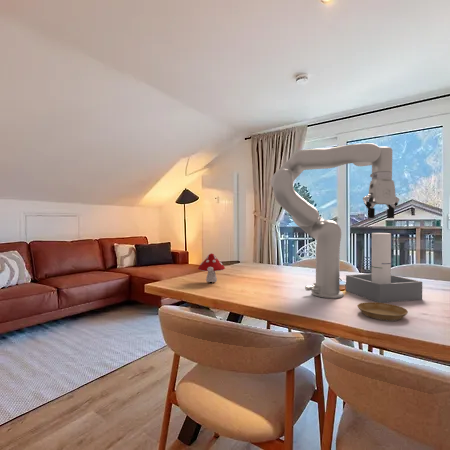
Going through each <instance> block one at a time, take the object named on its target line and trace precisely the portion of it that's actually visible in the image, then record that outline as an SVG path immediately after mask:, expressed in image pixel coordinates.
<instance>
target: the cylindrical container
mask: <svg viewBox="0 0 450 450" xmlns="http://www.w3.org/2000/svg"><path fill="white" fill-rule="evenodd" d="M371 274H372V282H375V283H378V284H387V283H391V275H392V233H388V232H372V233H371Z"/></svg>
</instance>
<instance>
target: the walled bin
mask: <svg viewBox="0 0 450 450" xmlns="http://www.w3.org/2000/svg"><path fill="white" fill-rule="evenodd" d="M345 291H346V292H348V293H351V294H354V295H357V296H359V297H362V298H365V299H368V300H371V301H372V302H378V303H395V302H408V301H418V300H420V301H421V300H423V281H421V280H420V281H419V280H415V279H412V278H407V277H403V276H397V275H394V274H391V283H387V284H378V283H375V282H372V273H361V274H346V275H345Z"/></svg>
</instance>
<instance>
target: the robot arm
mask: <svg viewBox="0 0 450 450" xmlns="http://www.w3.org/2000/svg"><path fill="white" fill-rule="evenodd" d="M347 164H348V165H349V164H353V165H354V166H356V167H368V166H371V173H370V176H369V177H370V178H371V180H370V182H369V186H368V194H367V195H365V196H364V197H362V201H363V202H364V203H363V204H364V205H365V207H366V209H367V219H375V214H376V213H375V211H376V208H374V207H376V205H385V206H387V209H386V211H387V212H386V219H394V218H395V209H396V208H397V206H398V204H399V202H400V198H399V197H397V196H396V185H395V181H394V180H393V148H392V147H390V146H378V145H377V143H376V144H375V143H372V142H364V143H363V142H361V143H352V144H351V143H350V144H346V145H339V146H333V147H325V148H324V147H323V148H322V147H321V148H307V149H304V148H303V149H299V150H296V151H295V152H294V153H292V155H291V156H290V157H289V159H288V160H287V161H285V163H284V164H283V165H282V166H281V167H280V168H279V169H278V170H276V171H275V173H273V174H272V176H271V179H270V186H271V187H272V191H273V196H274V198H275V201H276V202H277V204H278V205H279V206H280V207H281V208H282V209H283V210H285V211H286V212H287V213H288V214H289V215H290V216H291V218H292V221H293V222H294V224H296V226H297V227H299V228H300V229H301V230H303V231H304V232H305V233H306V234H308V236H310V237H311V238H313V239H314V240H316V244H315V282H313V283H312V284H313V285H312V284H311V285H307V286H305V287H304V289H305V291H307V292H308V291H311V294H312V295H313V296H315V297H318V298H323V299H324V298H325V299H339V298H342V297H344V292H343V291H341V290H340V289H341V288H340V286H341V285H340V278H341V277H340V274H341V273H340V272H341V271H340V267H341V266H340V263H341V262H340V259H341V258H340V253H341V252H340V249H341V248H340V247H341V240H342V229H341V227H340V225H339V224H338V222H336V221H334V220H332V219H331V220H330V219H323V218H322V217H321V216H320V213H319V210H318V209H317V208H316V207H315V206H314V205H312V204H311V203H309V202H308V201H307V200H306V199H304V198H303V197H302V196H301V195H300V194H298V192H297V191H296V189H294V182H295V180H297V178H298V177H299V176H300V175H301V174H302V173H303V172H304V171H306V170H307V171H309V170H310V171H311V170H323V169H325V170H327V169H334V168H337V167H340V166H344V165H347Z"/></svg>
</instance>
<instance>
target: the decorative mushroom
mask: <svg viewBox="0 0 450 450" xmlns="http://www.w3.org/2000/svg"><path fill="white" fill-rule="evenodd" d="M225 269H226V267H225V265H224V264H223V263H222V262H221V261H220V260H219V259H218V258H217V257H216V255H215V254H214V253H209V254H208V255H207V256H206V257H205V259H204V260H203V261H201V262H200V264H199V266H198V267H197V270H198V271H202V272H207V275H206V279H205V280H206V283H208V282H215V283H216V282H217V281H218V277H217V274H216V272H221V271H224V270H225Z"/></svg>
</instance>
